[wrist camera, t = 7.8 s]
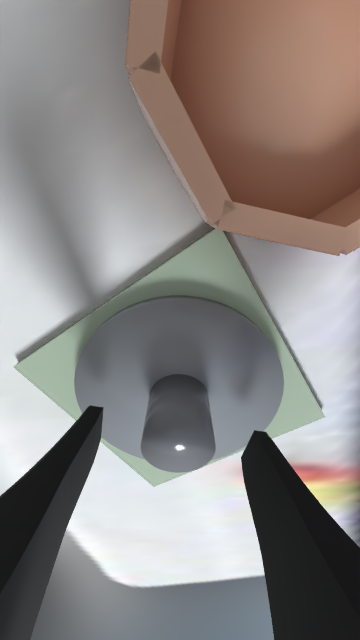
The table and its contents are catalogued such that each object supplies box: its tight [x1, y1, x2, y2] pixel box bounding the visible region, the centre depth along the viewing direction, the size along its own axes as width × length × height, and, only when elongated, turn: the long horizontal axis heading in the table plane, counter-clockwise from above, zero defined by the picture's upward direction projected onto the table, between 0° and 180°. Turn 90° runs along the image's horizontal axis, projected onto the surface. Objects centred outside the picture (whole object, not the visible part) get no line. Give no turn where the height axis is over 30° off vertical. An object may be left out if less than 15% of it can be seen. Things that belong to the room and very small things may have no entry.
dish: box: [126, 0, 360, 256], centre depth 7 cm, size 10×10×3 cm
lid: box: [74, 295, 284, 473], centre depth 12 cm, size 11×11×4 cm
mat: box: [14, 228, 325, 487], centre depth 14 cm, size 13×13×1 cm
